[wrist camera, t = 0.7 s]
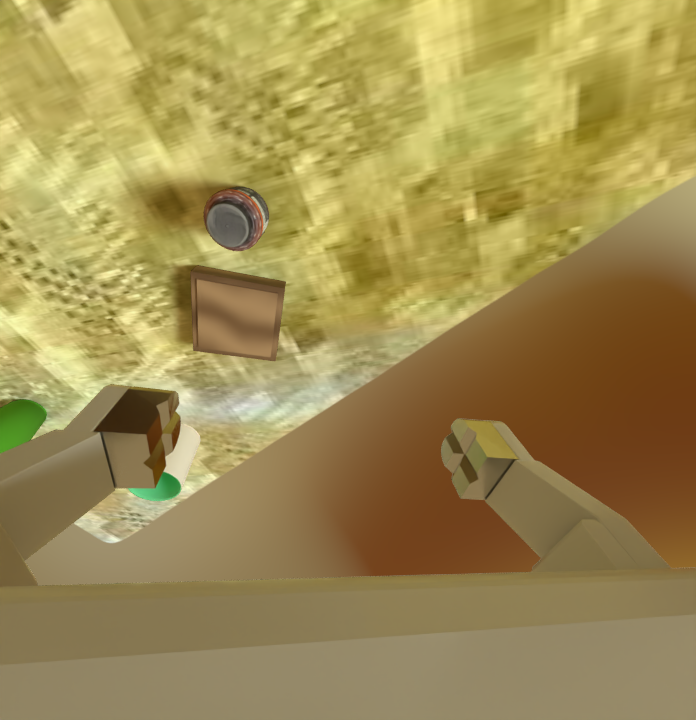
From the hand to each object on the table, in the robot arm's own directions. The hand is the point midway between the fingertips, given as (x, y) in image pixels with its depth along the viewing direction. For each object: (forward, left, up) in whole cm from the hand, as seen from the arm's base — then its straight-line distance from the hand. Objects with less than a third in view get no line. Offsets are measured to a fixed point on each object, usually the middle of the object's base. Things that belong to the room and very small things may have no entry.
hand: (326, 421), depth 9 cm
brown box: (+14, -8, -38) cm, 41 cm away
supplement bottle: (0, -8, -38) cm, 39 cm away
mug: (+41, -20, -38) cm, 59 cm away
